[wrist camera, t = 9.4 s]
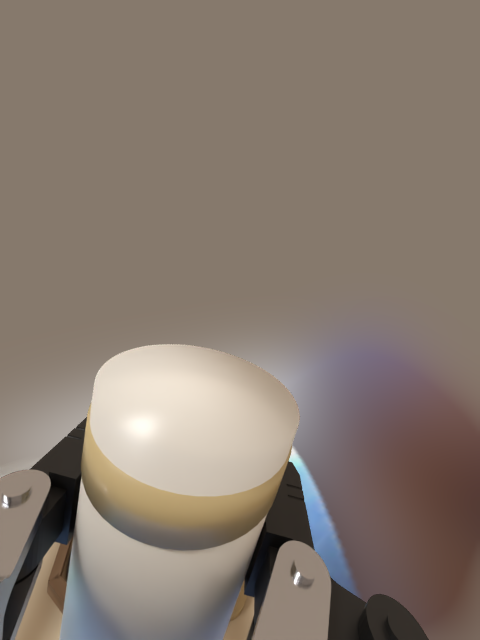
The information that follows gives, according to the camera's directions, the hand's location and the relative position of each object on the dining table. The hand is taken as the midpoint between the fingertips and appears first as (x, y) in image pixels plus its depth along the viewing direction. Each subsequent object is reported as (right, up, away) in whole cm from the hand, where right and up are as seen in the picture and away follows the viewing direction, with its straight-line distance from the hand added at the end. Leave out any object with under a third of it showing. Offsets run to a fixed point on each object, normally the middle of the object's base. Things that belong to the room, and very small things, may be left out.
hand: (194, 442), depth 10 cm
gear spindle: (-2, -6, -1) cm, 7 cm away
